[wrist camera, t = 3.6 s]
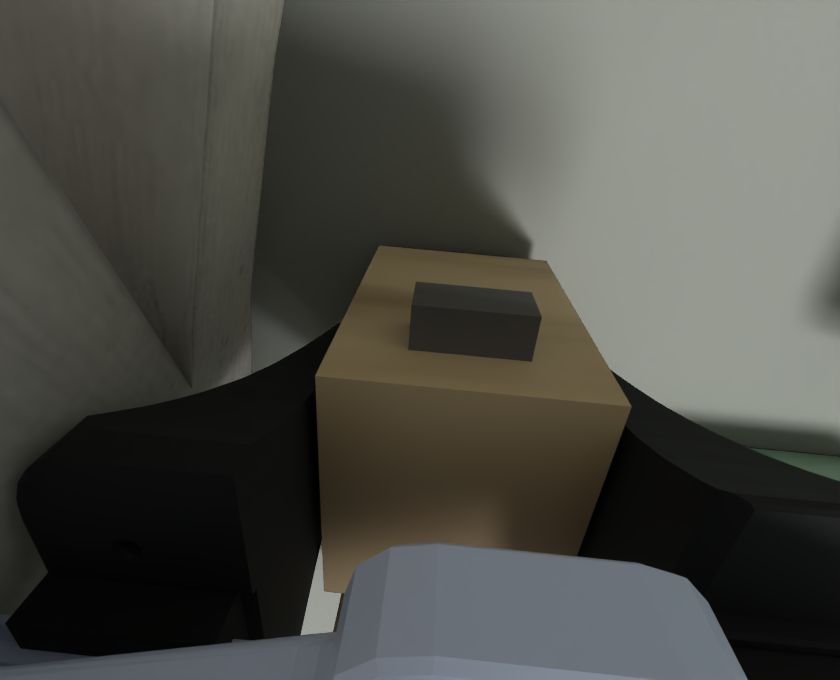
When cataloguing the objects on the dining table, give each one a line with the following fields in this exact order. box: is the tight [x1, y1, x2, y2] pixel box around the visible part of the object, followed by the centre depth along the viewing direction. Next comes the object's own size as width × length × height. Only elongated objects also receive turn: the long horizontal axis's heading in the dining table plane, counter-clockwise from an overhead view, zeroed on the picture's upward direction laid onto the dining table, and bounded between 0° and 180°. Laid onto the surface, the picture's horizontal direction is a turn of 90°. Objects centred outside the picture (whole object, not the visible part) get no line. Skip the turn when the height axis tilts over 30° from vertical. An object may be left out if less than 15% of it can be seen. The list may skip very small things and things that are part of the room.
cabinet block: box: [315, 246, 632, 593], centre depth 10 cm, size 6×4×6 cm
